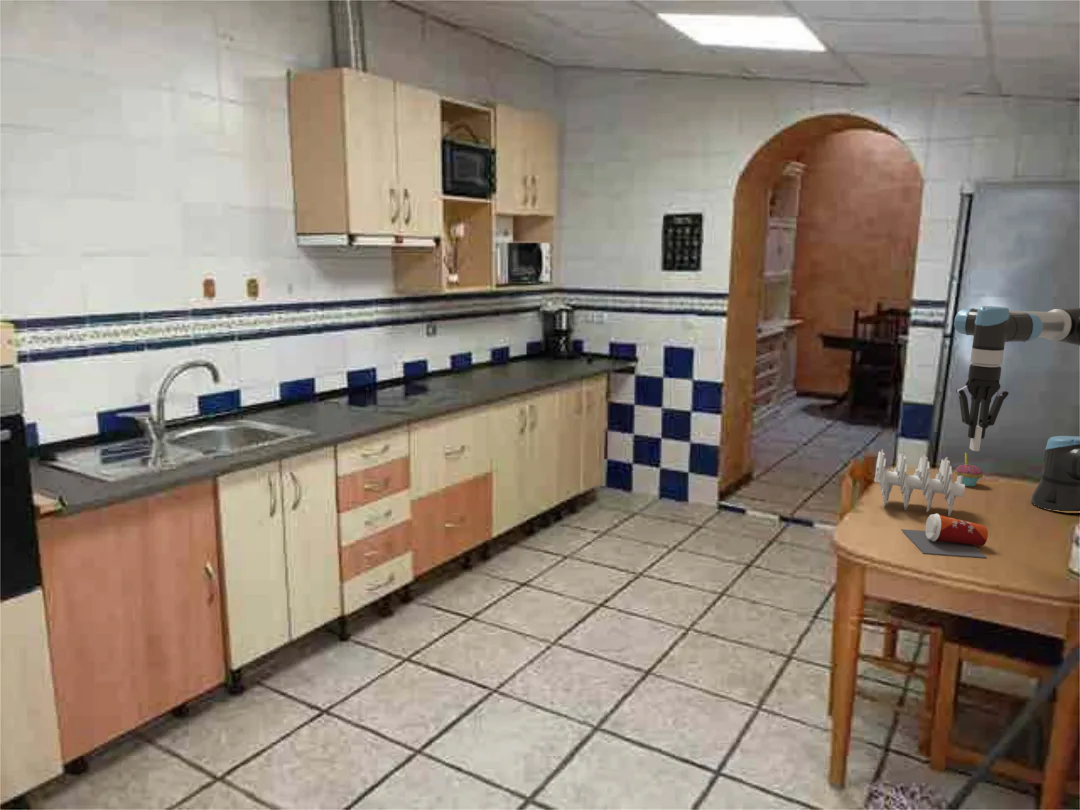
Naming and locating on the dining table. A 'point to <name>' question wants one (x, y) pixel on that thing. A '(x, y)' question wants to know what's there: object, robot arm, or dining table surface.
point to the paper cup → (955, 530)
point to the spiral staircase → (918, 481)
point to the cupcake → (969, 473)
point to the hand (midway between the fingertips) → (974, 449)
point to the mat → (941, 546)
